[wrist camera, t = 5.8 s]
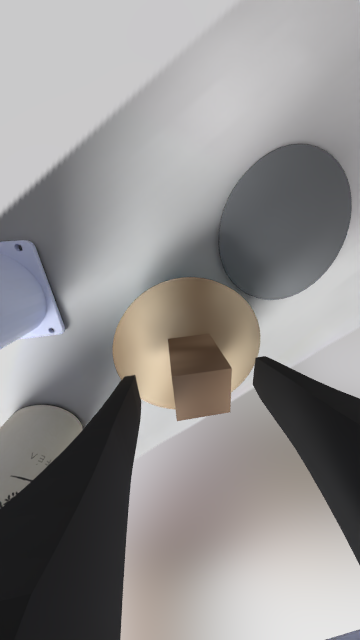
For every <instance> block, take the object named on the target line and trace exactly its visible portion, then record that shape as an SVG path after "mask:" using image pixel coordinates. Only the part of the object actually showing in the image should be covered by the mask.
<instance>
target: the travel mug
mask: <svg viewBox="0 0 360 640" xmlns="http://www.w3.org/2000/svg"><path fill="white" fill-rule="evenodd" d="M82 430H83V427H82V424H81V423H80V421H79V420H78V418H77V417H75V416H74V415H73V414H72V413H70V412H68V411H67V410H64V409H62V408H59V407H55V406H50V405H33V406H28V407H25V408H22V409H20V410H18V411H17V412H15V413H14V414H13V415H12V416H11V417H10V418H9V419H8V420H7V421H6V422H5V423H4V425H3V426H2V427H1V428H0V509H1V508H2V507H3V506H4V505H5V504H6V503H8V502H9V501H10V500H11V499H12V498H13V497H15V496H16V495H17V494H18V493H19V492H20V491H21V490H22V489H24V488H25V487H26V486H27V485H28V484H29V483H30V482H31V481H32V480H33V479H35V478H36V477H37V476H38V475H39V474H40V473H41V472H42V471H43V470H44V469H45V468H46V467H47V466H48V465H49V464H50V463H51V462H52V461H53V460H54V459H55V458H56V457H58V456H59V455H60V454H61V453H62V452H63V451H64V450H65V449H66V448H67V446H68V445H69V444H70V443H71V442H72V441H73V440H74V439H75V438H76V437H77V436H78V435H79V434H80V432H81V431H82Z"/></svg>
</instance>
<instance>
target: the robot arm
mask: <svg viewBox="0 0 360 640" xmlns="http://www.w3.org/2000/svg"><path fill="white" fill-rule="evenodd" d="M19 245H21V247H22V251H21V250H20V249H19V247H18V246H19ZM51 328H53V329H54V330H55V331H52V330H51ZM64 331H65V326H64V324H63V321H62V318H61V315H60V313H59V310H58V307H57V305H56V302H55V299H54V296H53V294H52V291H51V288H50V285H49V283H48V280H47V277H46V275H45V272H44V269H43V266H42V264H41V261H40V258H39V255H38V253H37V250H36V247H35V245H34V244H33V243H32V242H30V241H27V240H17V241H4V242H0V349H2V348H4V347H5V346H7V345H9V344H10V343H12V342H14V341H16V340H17V339H25V338H34V337H42V336H51V335H59V334H62V333H63V332H64ZM253 386H254V388H255V389H256V391H257V393H258V395H259V397H260V399H261V400H262V402H263V403H264V405H265V406H266V408H267V409H268V410H269V412H270V413H271V415H272V416H273V417H274V419H275V420H276V421H277V423H278V424H279V426H280V427H281V428H282V430H283V431H284V433H285V434H286V435H287V437H288V438H289V440H290V441H291V443H292V444H293V446H294V447H295V449H296V450H297V452H298V454H299V455H300V457H301V459H302V460H303V462H304V463H305V465H306V467H307V469H308V470H309V472H310V473H311V475H312V477H313V479H314V481H315V482H316V484H317V486H318V488H319V489H320V491H321V493H322V495H323V496H324V498H325V500H326V502H327V504H328V505H329V507H330V509H331V511H332V513H333V515H334V517H335V518H336V520H337V522H338V524H339V526H340V528H341V530H342V531H343V533H344V535H345V537H346V539H347V541H348V543H349V545H350V547H351V549H352V551H353V553H354V555H355V557H356V559H357V561H358V563H359V565H360V399H359V398H356V397H354V396H351V395H349V394H346V393H344V392H341V391H338V390H336V389H334V388H331V387H329V386H327V385H324V384H322V383H320V382H318V381H316V380H314V379H311V378H309V377H307V376H305V375H303V374H301V373H299V372H297V371H295V370H293V369H291V368H289V367H287V366H285V365H283V364H281V363H279V362H277V361H274V360H272V359H270V358H268V357H266V356H264V357H257V358H255V368H254V377H253ZM140 416H141V399H140V394H139V390H138V385H137V381H136V376H135V375H131V376H124V378H123V379H122V380H121V382H120V383H119V384H118V386H117V387H116V389H115V390H114V391H113V393H112V394H111V395H110V397H109V398H108V399H107V401H106V402H105V403H104V405H103V406H102V407H101V409H100V410H99V411H98V412H97V414H96V415H95V416H94V417H93V418H92V420H91V421H90V422H89V423H88V424H87V426H86V427H85V428H84V429H83V430H82V431H81V432H80V434H79V435H78V436H77V437H76V438H75V439H74V440H73V441H72V442H71V443H70V444H69V445H68V446H67V448H66V449H65V450H64V451H63V452H62V453H61V454H60V455H59V456H58V457H56V458H55V459H54V460H53V461H52V462H51V463H50V464H49V465H48V466H47V467H46V468H45V469H44V470H43V471H42V472H41V473H40V474H39V475H38V476H37V477H36V478H35V479H33V480H32V481H31V482H30V483H29V484H28V485H27V486H26V487H25V488H24V489H22V490H21V491H20V492H19V493H18V494H17V495H16V496H15V497H13V498H12V499H11V500H10V501H9V502H8V503H6V504H5V505H4V506H3V507H2V508H1V509H0V640H120V633H121V615H122V596H123V595H122V594H123V577H124V563H125V562H124V561H125V547H126V532H127V519H128V507H129V495H130V483H131V475H132V468H133V462H134V456H135V450H136V444H137V437H138V431H139V425H140ZM326 640H360V630H356V631H353V632H350V633H346V634H343V635H340V636H336V637H333V638H330V639H326Z"/></svg>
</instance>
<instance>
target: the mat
mask: <svg viewBox="0 0 360 640" xmlns="http://www.w3.org/2000/svg"><path fill="white" fill-rule="evenodd" d="M350 218H351V192H350V187H349V183H348V179H347V177H346V175H345V172H344V170H343V169H342V167H341V165H340V164H339V162H338V161H337V160H336V159H335V158H334V157H333V156H332V155H331V154H329V153H328V152H327V151H325V150H323V149H321V148H319V147H316V146H312V145H308V144H295V145H288V146H285V147H282V148H279V149H277V150H275V151H273V152H270V153H269V154H267V155H266V156H264V157H263V158H261V159H260V160H259V161H258V162H256V163H255V164H254V165H253V166H252V167H251V168H250V169H249V170H248V171H247V172H246V173H245V174H244V175H243V176H242V178H241V179H240V180H239V181H238V183H237V184H236V186H235V187H234V189H233V190H232V192H231V194H230V196H229V198H228V200H227V203H226V205H225V207H224V210H223V214H222V217H221V222H220V228H219V251H220V257H221V260H222V264H223V266H224V269H225V271H226V273H227V275H228V276H229V278H230V279H231V281H232V282H233V283H234V284H235V285H236V286H237V287H238V288H239V289H241V290H242V291H244V292H245V293H247V294H250V295H252V296H254V297H257V298H261V299H268V300H275V299H283V298H287V297H290V296H293V295H295V294H298V293H300V292H301V291H303V290H305V289H307V288H308V287H309V286H311V285H312V284H314V283H315V282H316V281H317V280H318V279H319V278H320V277H321V276H322V275H323V274H324V273H325V272H326V271H327V270H328V268H329V267H330V266H331V264H332V263H333V261H334V260H335V258H336V257H337V255H338V253H339V251H340V249H341V247H342V245H343V243H344V240H345V238H346V235H347V231H348V228H349V223H350Z"/></svg>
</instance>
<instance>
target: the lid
mask: <svg viewBox="0 0 360 640" xmlns="http://www.w3.org/2000/svg"><path fill="white" fill-rule="evenodd" d="M259 347H260V329H259V324H258V321H257V318H256V316H255V313H254V311H253V310H252V308H251V307H250V305H249V304H248V303H247V302H246V300H245V299H244V298H243V297H242V296H240V295H239V294H238V293H237V292H236V291H234V290H232V289H231V288H229V287H227V286H225V285H223V284H220V283H218V282H215V281H213V280H209V279H205V278H197V277H183V278H177V279H172V280H168V281H165V282H162V283H160V284H158V285H155V286H153V287H151V288H150V289H148V290H147V291H145V292H144V293H142V294H141V295H140V296H139V297H138V298H136V299H135V300H134V302H133V303H132V304H131V305H130V306H129V307H128V309H127V310H126V312H125V313H124V315H123V316H122V318H121V320H120V322H119V324H118V326H117V328H116V332H115V335H114V340H113V359H114V364H115V367H116V370H117V373H118V375H119V376H120V378H121V380H122V379H123V378H124V376H131V375H135V376H136V381H137V385H138V390H139V394H140V398H141V399H142V400H144V401H146V402H148V403H150V404H153V405H156V406H159V407H163V408H168V409H176V416H177V421H181V420H186V419H192V418H198V417H204V416H210V415H216V414H222V413H228V412H230V402H231V392H232V391H233V390H235V389H236V388H237V387H238V386H239V385H240V384H241V383H242V382H243V381H244V380H245V378H246V377H247V376H248V375H249V373H250V371H251V370H252V368H253V366H254V364H255V358H257V356H258V353H259Z"/></svg>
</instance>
